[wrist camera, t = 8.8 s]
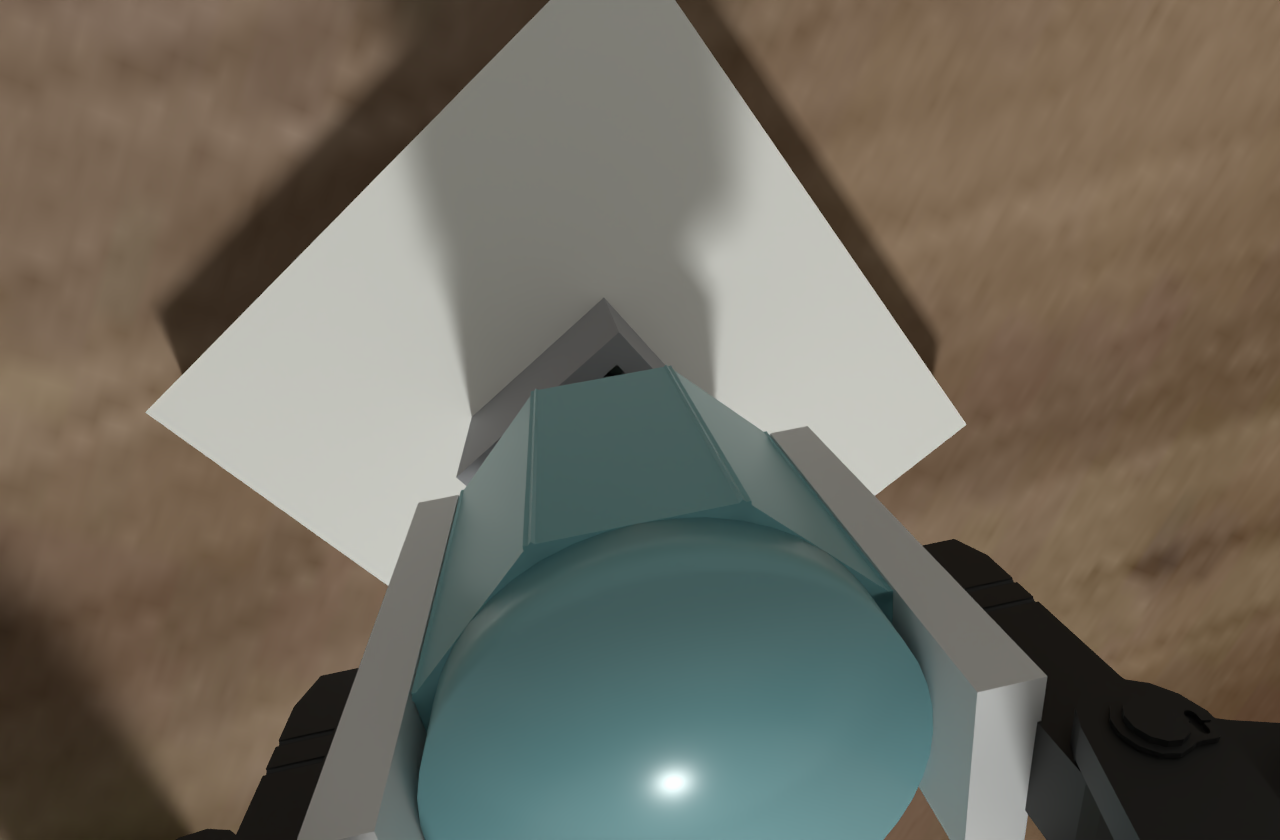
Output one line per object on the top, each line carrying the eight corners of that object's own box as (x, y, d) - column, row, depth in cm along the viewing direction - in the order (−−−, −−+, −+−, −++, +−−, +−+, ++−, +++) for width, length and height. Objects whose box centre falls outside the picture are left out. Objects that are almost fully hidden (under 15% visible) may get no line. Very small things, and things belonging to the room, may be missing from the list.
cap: (509, 663, 14) (488, 994, 8) (433, 406, 11) (332, 641, 6) (780, 605, 14) (927, 886, 9) (762, 346, 12) (948, 512, 6)
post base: (186, 385, 18) (47, 477, 13) (613, -49, 15) (649, -145, 10) (578, 679, 24) (588, 820, 19) (930, 401, 21) (1049, 477, 16)
